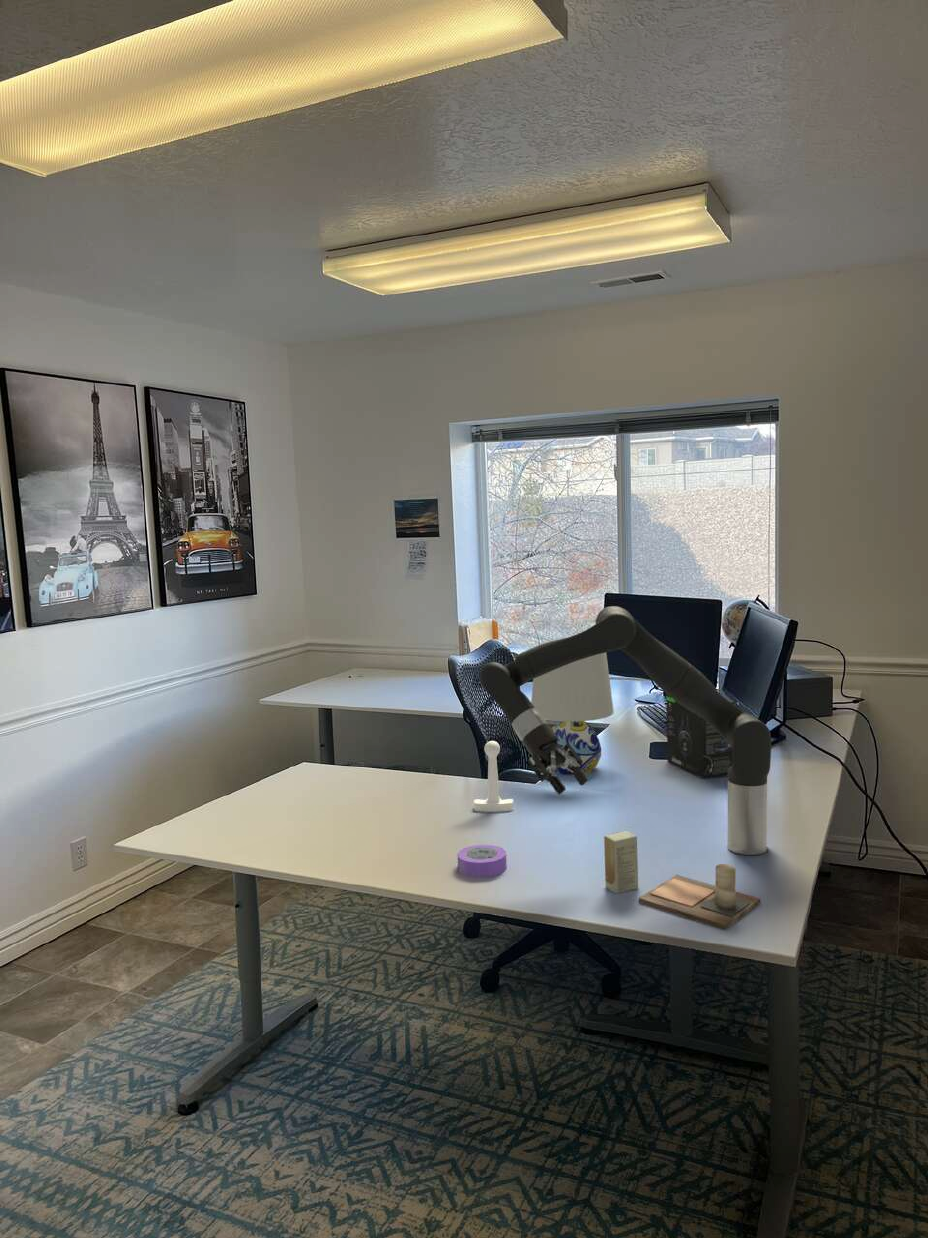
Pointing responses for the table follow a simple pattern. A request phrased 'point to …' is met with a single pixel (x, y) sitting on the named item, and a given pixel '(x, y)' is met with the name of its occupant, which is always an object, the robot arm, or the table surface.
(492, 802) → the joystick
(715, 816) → the table surface
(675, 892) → the board
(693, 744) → the headset box
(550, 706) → the table lamp
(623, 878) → the skincare box
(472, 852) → the masking tape
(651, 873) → the table surface
